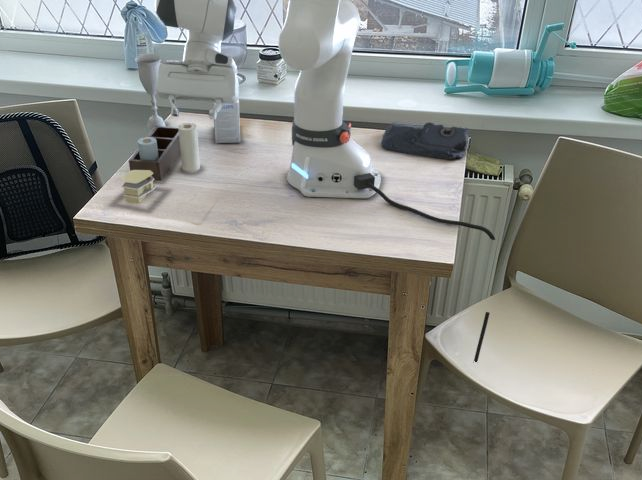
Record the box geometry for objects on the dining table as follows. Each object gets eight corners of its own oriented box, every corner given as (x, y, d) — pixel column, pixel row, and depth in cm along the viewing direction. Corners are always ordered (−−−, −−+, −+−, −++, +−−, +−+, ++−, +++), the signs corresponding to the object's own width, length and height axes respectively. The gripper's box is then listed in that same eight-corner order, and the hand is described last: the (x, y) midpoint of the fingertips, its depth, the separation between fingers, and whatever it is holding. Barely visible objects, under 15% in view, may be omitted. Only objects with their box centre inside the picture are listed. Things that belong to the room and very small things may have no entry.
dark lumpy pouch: (390, 127, 196) (392, 110, 193) (470, 138, 190) (473, 121, 187) (376, 149, 185) (378, 131, 182) (461, 162, 179) (464, 144, 176)
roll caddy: (185, 146, 186) (184, 127, 182) (161, 182, 170) (159, 162, 166) (158, 144, 187) (156, 125, 183) (131, 180, 171) (128, 160, 167)
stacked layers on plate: (148, 210, 159) (145, 188, 156) (112, 205, 161) (108, 182, 158) (167, 190, 167) (164, 169, 163) (132, 185, 169) (129, 164, 165)
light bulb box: (214, 127, 195) (211, 88, 188) (239, 126, 196) (237, 87, 189) (215, 144, 187) (212, 103, 180) (241, 143, 187) (239, 102, 181)
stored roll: (163, 169, 174) (159, 137, 169) (156, 177, 171) (152, 145, 165) (146, 167, 175) (142, 135, 170) (139, 175, 172) (134, 143, 166)
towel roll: (202, 166, 176) (199, 123, 169) (196, 174, 173) (192, 130, 166) (186, 164, 177) (182, 121, 170) (179, 172, 174) (175, 128, 167)
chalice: (163, 131, 193) (155, 63, 181) (140, 129, 194) (130, 62, 182) (172, 121, 198) (165, 54, 187) (149, 119, 199) (140, 53, 188)
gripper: (156, 53, 171) (148, 108, 170) (238, 58, 169) (231, 114, 168) (163, 66, 178) (156, 119, 177) (243, 71, 175) (236, 125, 174)
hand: (193, 116), depth 172 cm, fingers open, 8 cm apart
